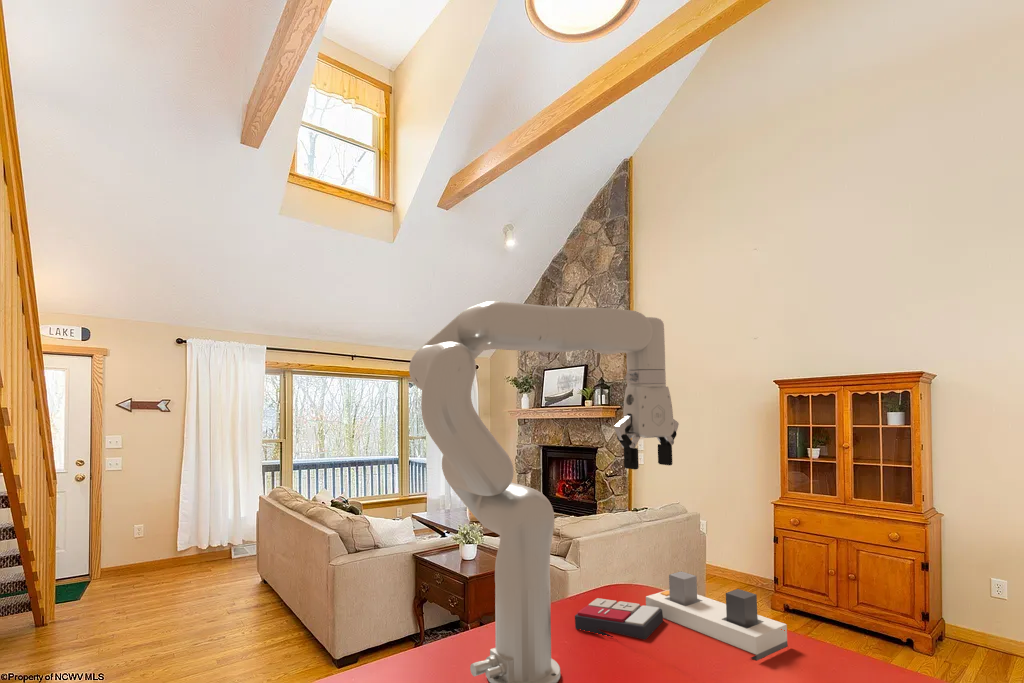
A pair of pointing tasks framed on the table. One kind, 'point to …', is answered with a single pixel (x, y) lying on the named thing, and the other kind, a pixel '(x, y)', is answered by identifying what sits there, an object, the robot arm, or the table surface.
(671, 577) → the grey square peg
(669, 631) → the table surface
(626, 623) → the calculator
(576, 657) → the table surface
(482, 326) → the robot arm
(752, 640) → the power strip
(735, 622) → the plug
